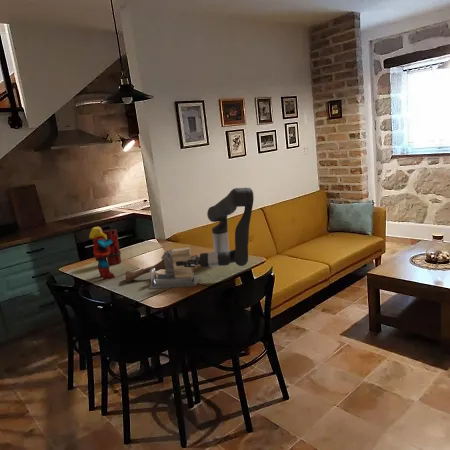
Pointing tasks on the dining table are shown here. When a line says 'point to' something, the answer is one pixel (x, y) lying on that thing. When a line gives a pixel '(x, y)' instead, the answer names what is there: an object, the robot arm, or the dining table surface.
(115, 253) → the dynamite
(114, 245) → the toy
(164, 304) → the dining table surface
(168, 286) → the rail
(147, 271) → the hammer
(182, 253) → the wooden block
